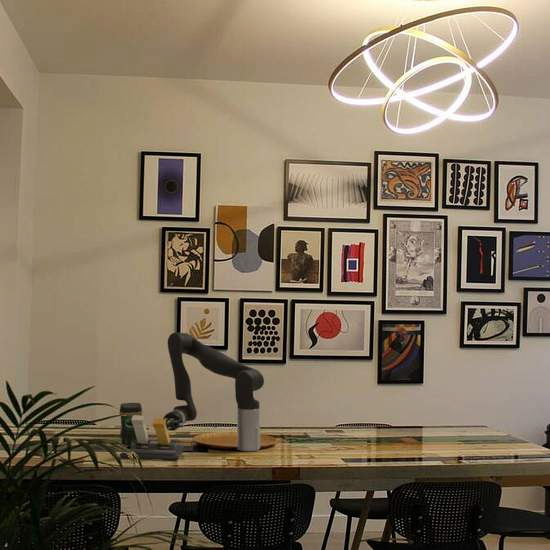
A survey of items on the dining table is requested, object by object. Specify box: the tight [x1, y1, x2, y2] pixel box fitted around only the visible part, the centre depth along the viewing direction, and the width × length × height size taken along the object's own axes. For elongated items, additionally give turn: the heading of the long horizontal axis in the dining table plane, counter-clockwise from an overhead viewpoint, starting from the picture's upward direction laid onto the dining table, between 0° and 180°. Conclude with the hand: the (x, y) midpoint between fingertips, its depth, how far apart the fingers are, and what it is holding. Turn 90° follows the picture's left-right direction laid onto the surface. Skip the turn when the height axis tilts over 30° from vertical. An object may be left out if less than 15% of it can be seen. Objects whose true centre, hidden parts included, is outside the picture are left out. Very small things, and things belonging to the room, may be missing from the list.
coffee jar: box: [118, 402, 143, 447], centre depth 329 cm, size 10×8×19 cm
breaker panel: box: [129, 440, 185, 457], centre depth 314 cm, size 20×12×5 cm, turn 81°
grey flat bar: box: [119, 449, 180, 461], centre depth 306 cm, size 24×2×4 cm, turn 81°
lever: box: [131, 415, 151, 446], centre depth 311 cm, size 4×3×15 cm
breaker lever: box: [152, 418, 172, 447], centre depth 309 cm, size 4×3×15 cm
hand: (162, 427), depth 309 cm, fingers closed
